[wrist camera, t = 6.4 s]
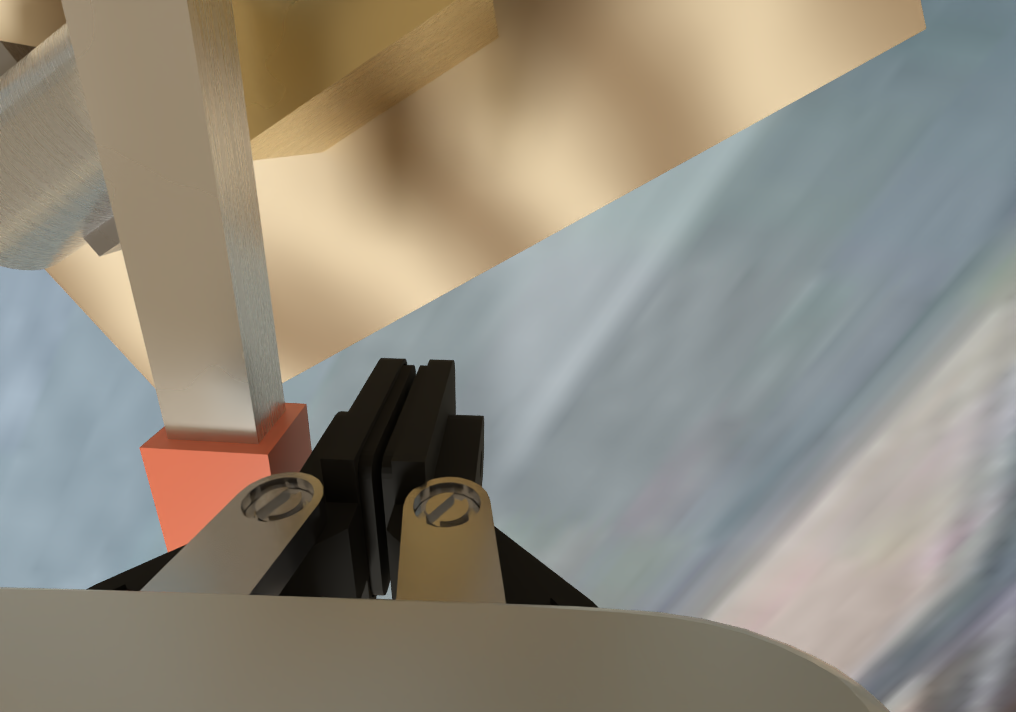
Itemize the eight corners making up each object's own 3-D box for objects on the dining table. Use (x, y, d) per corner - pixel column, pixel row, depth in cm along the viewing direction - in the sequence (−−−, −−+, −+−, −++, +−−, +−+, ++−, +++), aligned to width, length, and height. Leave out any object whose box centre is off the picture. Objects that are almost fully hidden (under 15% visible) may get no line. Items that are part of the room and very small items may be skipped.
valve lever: (25, -324, 6) (-146, -483, 5) (250, -308, 6) (159, -459, 5) (224, 584, 13) (181, 652, 11) (339, 590, 13) (313, 659, 11)
